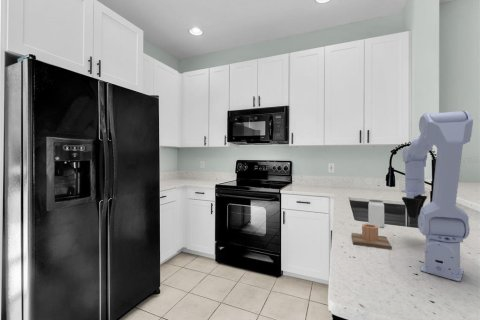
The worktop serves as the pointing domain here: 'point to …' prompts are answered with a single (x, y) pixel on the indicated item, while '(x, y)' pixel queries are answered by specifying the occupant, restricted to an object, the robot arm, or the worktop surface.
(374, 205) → the can
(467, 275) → the worktop surface
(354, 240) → the holder
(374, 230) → the tube
